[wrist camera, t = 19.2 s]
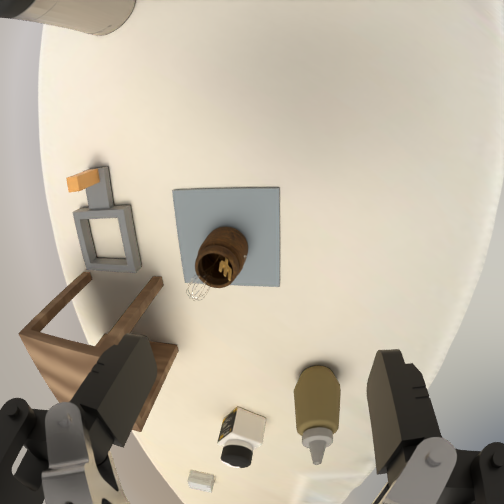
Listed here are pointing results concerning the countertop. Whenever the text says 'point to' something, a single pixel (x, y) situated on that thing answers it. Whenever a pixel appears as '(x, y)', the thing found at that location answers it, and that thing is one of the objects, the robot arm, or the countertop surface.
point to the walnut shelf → (86, 356)
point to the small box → (201, 481)
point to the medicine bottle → (240, 437)
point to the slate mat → (236, 216)
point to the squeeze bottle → (317, 409)
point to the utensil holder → (220, 258)
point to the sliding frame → (103, 208)
